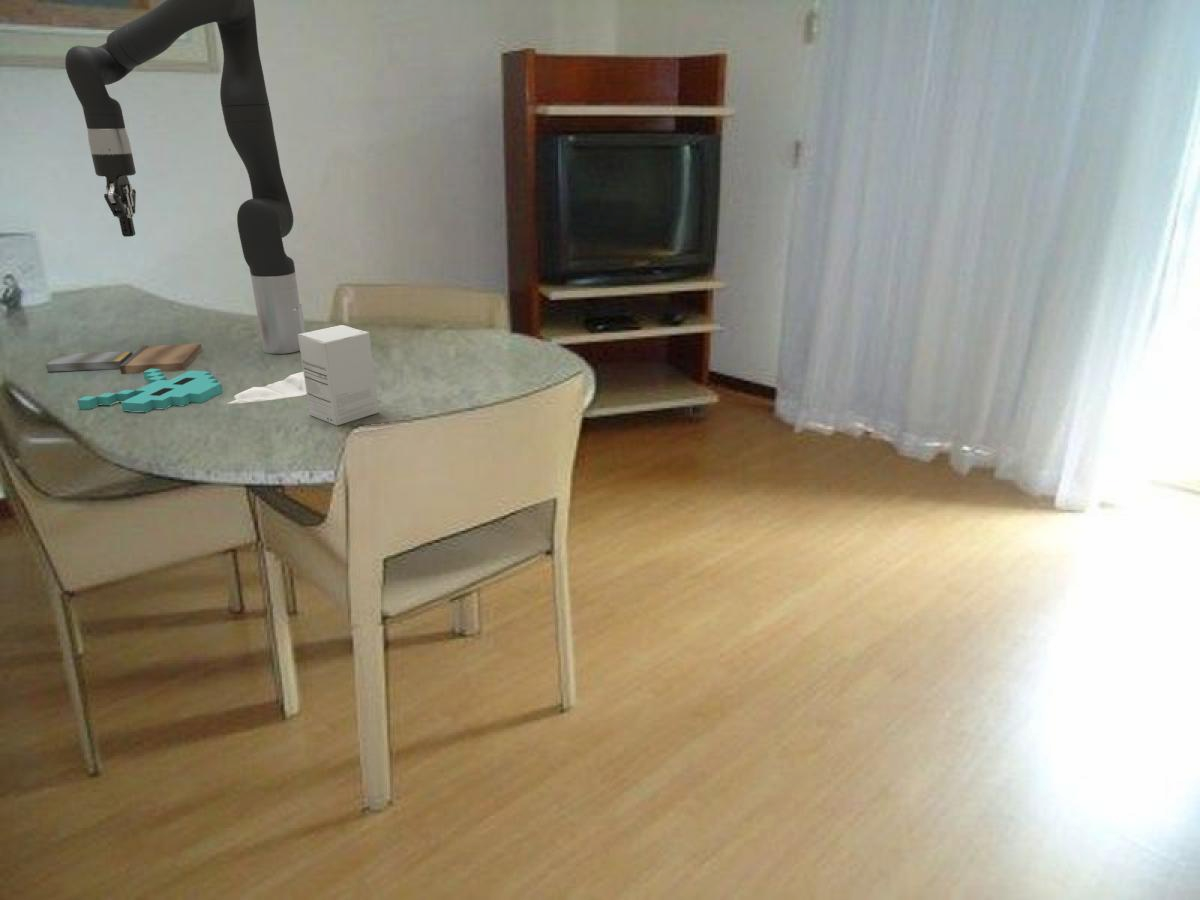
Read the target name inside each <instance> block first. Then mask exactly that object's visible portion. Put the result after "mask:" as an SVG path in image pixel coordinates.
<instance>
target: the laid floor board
mask: <svg viewBox="0 0 1200 900" xmlns="http://www.w3.org/2000/svg"><path fill="white" fill-rule="evenodd" d="M202 352H203V347H202V343H181V344H163V345H142V346H141V347H140V348H139V349H138V350H136V351H135V352H134V353H132V354H133V355H132V356H131V357H129V358H128V359H127V360H126V361H125V362H123V363H122V364H121V365H120V369H119V370H120V374H122V375H124V374H125V375H129V374H128V373H131V374H140V373H139V372H144V371H146V370H148V369H160V370H161V371H167V372H177V371H176V370H184V369H185V368H186V367H187V366H188V365H189V366H190V364H192V362H193V361H194V360H195V359H196V358H197V357H198V356H199V355H200V354H201V353H202ZM199 353H200V354H199ZM198 354H199V355H198ZM197 355H198V356H197ZM196 356H197V357H196ZM195 357H196V358H195ZM194 358H195V359H194ZM189 366H188V367H189ZM188 367H187V368H188ZM187 368H186V369H187ZM186 369H185V370H186ZM185 370H184V371H185Z"/></svg>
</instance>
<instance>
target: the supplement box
mask: <svg viewBox="0 0 1200 900" xmlns="http://www.w3.org/2000/svg"><path fill="white" fill-rule="evenodd" d="M305 332H306V333H301V334H298V340H299V346H300V351H299V352H300V359H301V366H302V372H303V373H304V379H305V386H306V393H307V394H306V398H307V406H308V411H309V412H308V413H309V415H310V416H311V417H315V418H317V419H319V420H321V421H325V422H327V423H329V424H331V425H334V426H335V427H336V426H341V425H345V424H346V423H350V422H353V421H356V420H360V419H363V418H365V417H366V418H367V417H369V416H372V415H375V414H379V413H380V410H379V401H378V400H379V399H378V393H377V384H376V383H377V382H376V376H375V370H374V369H375V368H374V362H373V354H372V343H371V335H370V332H369V331H365V330H361V329H357V328H354V327H350V326H348V325H346V324H345V325H344V324H340V325H335V326H331V327H326V328H321V329H316V330H311V331H305Z"/></svg>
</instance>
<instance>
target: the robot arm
mask: <svg viewBox="0 0 1200 900" xmlns="http://www.w3.org/2000/svg"><path fill="white" fill-rule="evenodd" d="M256 18H257V17H256V7H255V1H254V0H164V1H163V2H162V3H160V4H159V5H157V6H156V7H154V8H153V9H151V10H149V11H147V12H146V13H143V14H142V15H141V16H139V17H137V18H134V19H133V20H131V21H129V22H128V23H126V24H124V25H121V26H119V27H118V28H117V29H114V30H112V31H111V32H110V33H109V34H108V35H107V36H106V42H105V43H103V44H102V45H99V46H97V47H96V46H89V45H88V46H87V45H75V46H72V47H71V48H69V50H68V51H67V52H66V55H65V61H64V62H65V63H64V64H65V70H66V74H67V78H68V80H69V81H70V83H71V87H72V88H73V91H74V93H75V95H76V97H77V99H78V101H79V103H80V105H81V107H82V111H83V117H84V120H85V121H84V122H85V124H86V128H87V129H86V131H87V137H88V140H87V141H88V146H89V149H90V150H89V151H90V154H91V158H92V163H93V167H94V172H95V175H96V176H97V177H105V180H106V186H105V190H106V192H107V193H104V194H103V197H104V200H105V201H106V203H107V205H108V207H109V209H110V212H112V213H111V214H112V215H113V217H116V218H117V219H118V221H119V224H120V230H121V234H122V237H125V238H126V237H134V236H135V235H136V230H135V225H134V221H133V218H134V214H136V196H137V191H136V189H135V188H133V187H132V184H131V183H130V180H129V176H135V175H136V167H135V163H134V157H133V156H134V155H133V153H132V147H131V142H130V138H129V136H128V132H127V129H126V125H125V120H124V119H125V118H124V116H123V110H122V106H121V104H120V102H119V101H118V100H116V99H115V98H113V97H111V96H110V94H109V93H108V91H107V87H106V86H109V85H111V84H114V83H117V82H118V81H121V80H122V79H123V78H125V77H126V76H127V75H128V74H129V73H131V72H132V71H133V70H134V69H135V68H136V67H138V66H140V65H142V64H144V63H146V62H148V61H150V60H152V59H154V58H156V57H158V56H159V55H161V54H163V53H165V51H167V50H168V49H169V48H170V47H171V46H172V45H173V44H174V43H175V42H176V41H177V40H178V39H179V38H181V36H182V35H184V34H186V33H187V32H189V31H192V30H194V29H196V28H199V27H202V26H204V25H208V24H211V23H216V24H217V27H218V32H219V35H220V36H219V37H220V40H221V45H222V51H223V53H222V54H223V63H222V64H223V65H222V71H221V72H222V73H221V78H220V89H219V90H220V92H219V93H220V94H219V95H220V96H219V97H220V104H221V110H222V113H223V114H222V115H223V120H224V125H225V128H226V131H227V134H228V136H229V140H230V141H231V143H232V146H233V147H234V148H235V150H236V152H237V154H238V156H239V158H240V160H241V161H242V163H243V165H244V166H245V167H244V168H245V169H246V172H247V175H248V179H249V184H250V189H251V195H252V198H250V199H248V200H245V201H244V202H243V203H242V204H241V205H240V206H239V208H238V210H237V215H236V217H237V218H236V221H237V229H238V235H239V240H240V244H241V245H240V246H241V250H242V254H243V258H244V261H245V262H246V264H247V266H248V269H249V272H250V277H251V283H252V291H253V296H254V301H255V310H256V316H257V322H258V328H259V334H260V341H261V346H262V351H263V352H264V353H266V354H272V355H273V354H274V355H278V354H279V355H280V354H281V355H282V354H292V353H296V352H300V346H299V340H298V334H301V333H306V332H307V331H306V326H305V319H304V311H303V305H302V304H301V303H300V298H299V289H298V282H297V277H296V276H297V275H296V270H295V269H296V266H295V262H294V259H293V258H292V257H290V256H288V255H287V254H286V251H285V247H284V242H283V239H284V238H285V237H287V236H288V235H289V233H291V231H292V229H293V228H294V213H293V209H292V205H291V202H290V199H289V194H288V192H287V188H286V185H285V181H284V178H283V173H282V168H281V164H280V157H279V152H278V146H277V142H276V136H275V130H274V123H273V116H272V111H271V106H270V101H269V97H268V93H267V86H266V82H265V76H264V70H263V66H262V62H261V56H260V49H259V41H258V29H257V28H258V27H257V19H256Z"/></svg>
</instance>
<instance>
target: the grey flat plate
mask: <svg viewBox="0 0 1200 900" xmlns="http://www.w3.org/2000/svg"><path fill="white" fill-rule="evenodd" d="M133 354H134V353H133V351H132V350H129V351H128V350H126V351H105V352H80V353H79V352H78V353H74V352H73V353H61V354H58V356H56V357H55V358H53V359H52V360H50V361H49V362H47V363H46V364H45V366H46V370H47V372H48V373H50V372H51V373H52V372H72V371H73V372H74V371H97V370H99V371H100V370H118V369H119V370H120V365H121V364H122V363H123V362H125V361H126V360H127V359H128V358H129V357H131V356H132V355H133Z"/></svg>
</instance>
